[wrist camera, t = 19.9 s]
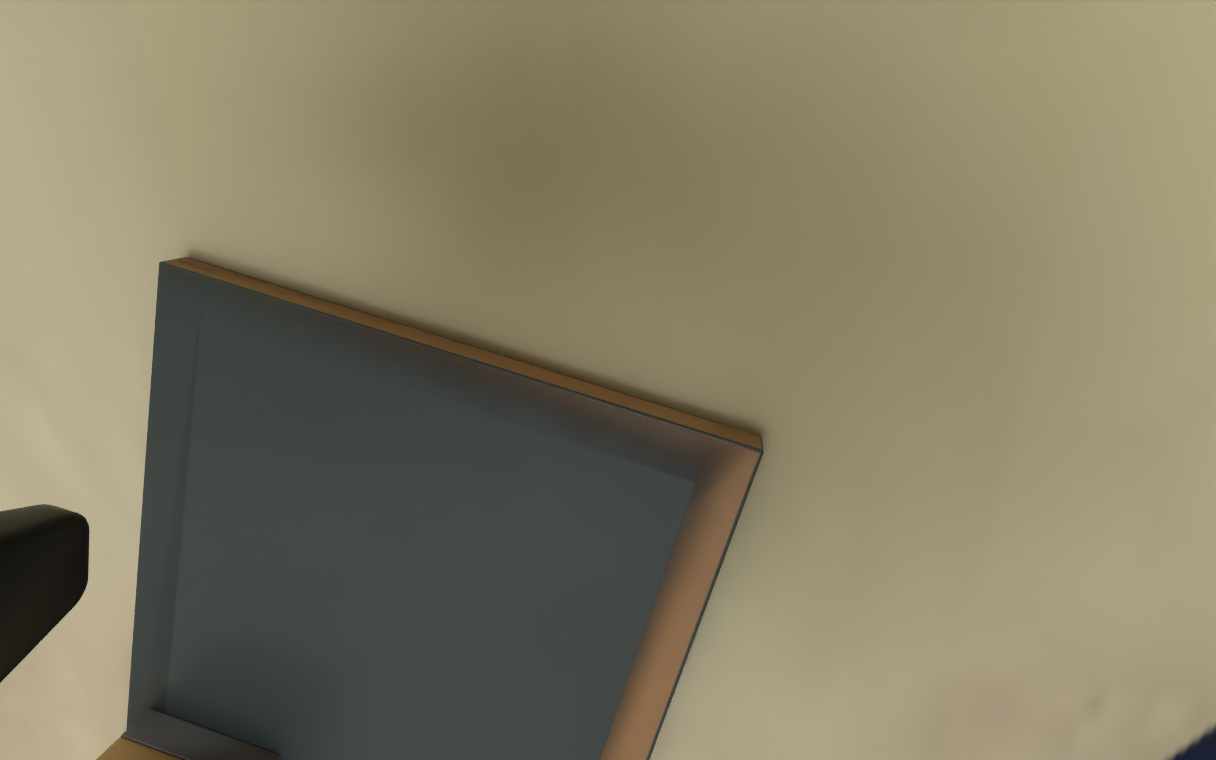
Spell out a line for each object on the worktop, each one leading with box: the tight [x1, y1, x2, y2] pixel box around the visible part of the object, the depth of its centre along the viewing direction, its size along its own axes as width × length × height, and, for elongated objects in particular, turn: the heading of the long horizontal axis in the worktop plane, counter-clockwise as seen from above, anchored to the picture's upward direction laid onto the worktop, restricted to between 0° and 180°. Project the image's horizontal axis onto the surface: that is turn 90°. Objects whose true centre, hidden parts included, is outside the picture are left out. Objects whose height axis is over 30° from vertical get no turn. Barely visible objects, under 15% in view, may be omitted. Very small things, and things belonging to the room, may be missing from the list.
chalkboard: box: [127, 257, 763, 760], centre depth 23 cm, size 16×24×1 cm, turn 165°
